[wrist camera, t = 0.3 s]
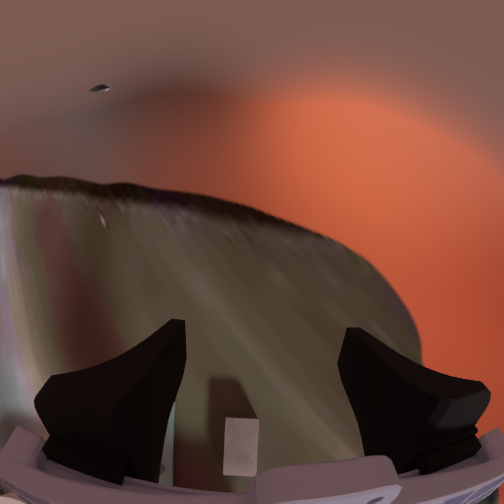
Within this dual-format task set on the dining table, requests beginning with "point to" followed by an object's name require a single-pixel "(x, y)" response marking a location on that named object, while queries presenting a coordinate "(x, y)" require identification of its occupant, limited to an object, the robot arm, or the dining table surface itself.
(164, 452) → the grey plate with pegs
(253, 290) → the dining table surface
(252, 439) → the pale pink block
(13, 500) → the plate stack
